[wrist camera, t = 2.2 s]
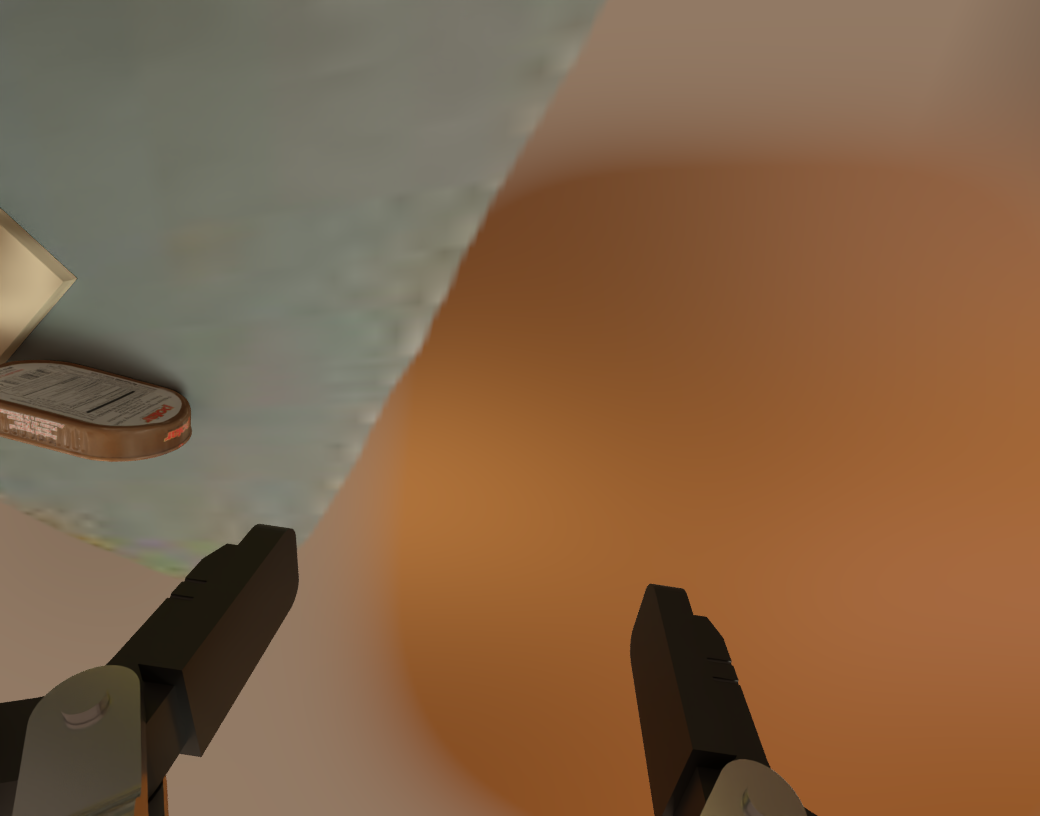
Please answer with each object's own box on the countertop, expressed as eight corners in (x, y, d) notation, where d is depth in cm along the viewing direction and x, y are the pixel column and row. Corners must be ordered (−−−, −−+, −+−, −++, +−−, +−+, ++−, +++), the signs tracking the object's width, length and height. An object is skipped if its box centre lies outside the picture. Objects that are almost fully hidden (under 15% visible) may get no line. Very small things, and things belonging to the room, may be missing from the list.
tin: (33, 378, 42) (-81, 424, 35) (27, 343, 41) (-93, 383, 33) (214, 425, 43) (142, 480, 36) (215, 392, 42) (140, 442, 34)
